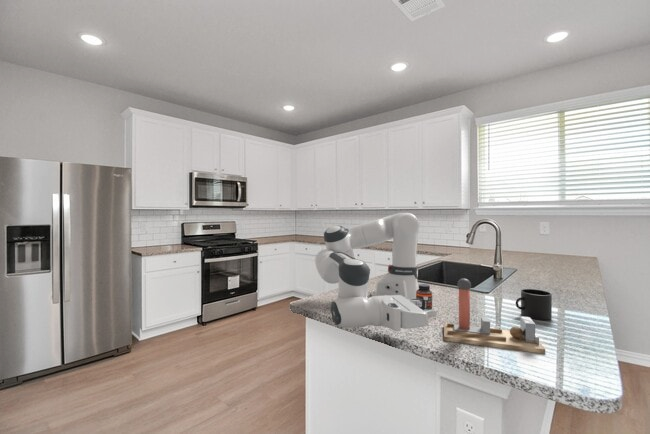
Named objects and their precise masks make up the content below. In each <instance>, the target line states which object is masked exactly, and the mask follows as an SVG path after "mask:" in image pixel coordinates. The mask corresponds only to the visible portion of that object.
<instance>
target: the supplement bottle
mask: <svg viewBox="0 0 650 434" xmlns="http://www.w3.org/2000/svg"><path fill="white" fill-rule="evenodd" d="M430 287H431V286H430V284H426V283H418V290H417V291H416V299H415V300H419V301H421V302H422V307H419V308H420V309H422V310H423V311H429V309H433V292H432V291H431V288H430Z"/></svg>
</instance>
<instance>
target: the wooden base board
mask: <svg viewBox="0 0 650 434" xmlns="http://www.w3.org/2000/svg"><path fill="white" fill-rule="evenodd" d="M454 324H456V325H459V323H451V322H447V323H446V322H445V323H444V322H443V341H445V342H447V341H448V342H452V343H460V344H470V345H476V346H477V345H478V346H483V347H484V346H485V347H490V348H498V349H500V348H501V349H507V350H513V351H514V350H515V351H520V352H521V351H522V352H530V353H537V354H544V355H545V354H546V347H544V346H543V345H542V343H541V342H540V341H539V345H538V344H530V343H525V341H524V340H523V338H522V337H521V338H518V339H517V338H514V337H512V336H511V334H510V329H509V330H508V329H502V328H494V327H490V335H485V334H477V333H469V332H460V331H454ZM473 326H474V327H480V325H479V326H478V325H473Z"/></svg>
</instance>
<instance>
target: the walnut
mask: <svg viewBox="0 0 650 434" xmlns="http://www.w3.org/2000/svg"><path fill="white" fill-rule="evenodd" d="M509 330H510V334H511V336H512V337H514V338H517V339H518V338H521V337H522V336H523V331H522V329H521V327H519V326H517V325H516V326H515V325H514V326H512V327H510V328H509Z"/></svg>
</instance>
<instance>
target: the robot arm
mask: <svg viewBox="0 0 650 434" xmlns="http://www.w3.org/2000/svg"><path fill="white" fill-rule="evenodd" d="M419 231H420V222H419V219H418V218H417V216H416V215H415V214H413V213H410V212H397V213H395V214H394V213H393V214H390V215H387V216H384V217H381V218H379V219H374V220H371V221H368V222H364V223H360V224H357V225H354V226H351V227H349V228H346V227H344V226H342V225H333V226H330V227H328V228H327V229H325V231H324V232H323V241H324V242H325V247H326V249H321V250H320V251H319V252H317V253H316V255H315V258H314V260H315V261H314V262H315V263H314V265H315V266H316V267H315V268H316V270H317V273H318V274H319V276H320V278H321V279H322V280H323V281H324V282H325V283H328V284H335V285H336V284H338V288H337V289H338V292H337V294H338V295H337V297H336V299H335V300H332V301H331V305H330V313H331V319H332V322H333V323H334V324H335V326H337V327H341V328H349V329H350V328H352V329H353V328H356V329H357V328H358V329H359V328H365V327H368V326H372V327H383V328H388V329H390V330H392V331H395V332H399V331H401V329H403V330H404V329H405V330H407V329H418V328H424V327H427V326H428V324H429V319H430V318H436V317H437V314H438V313H437V311H436V310H435V309H433V308H432V309H429V311H423V310H422V309H420V308H419V307H422V302H421V301H419V300H416V291H417V290H418V289H419V283H418V278H419V269H418V264H417V258H418V257H417V252H418V251H417V249H418V241H419ZM390 240H392V241H393V242H392V247H391V254H392V255H391V257H392V258H391V259H392V260H391V263H389V264H388V267H387V273H386V274H384V275H383V276H382V277H381V278H379V279H378V280H377V282H376V285H375V286H376V287H375V288H374V289H373V290H372V291H371V293H370V295H371V296H370V297H368V294H369V280H370V273H371V269H370V267H369V265H368V264H367V263H366V262H365V261H363V260H361V259H358V258H355V255H354V250H357V249H362V248H363V249H364V248H367V247H371V246H374V245H379V244H381V243H385V242H387V241H390Z"/></svg>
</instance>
